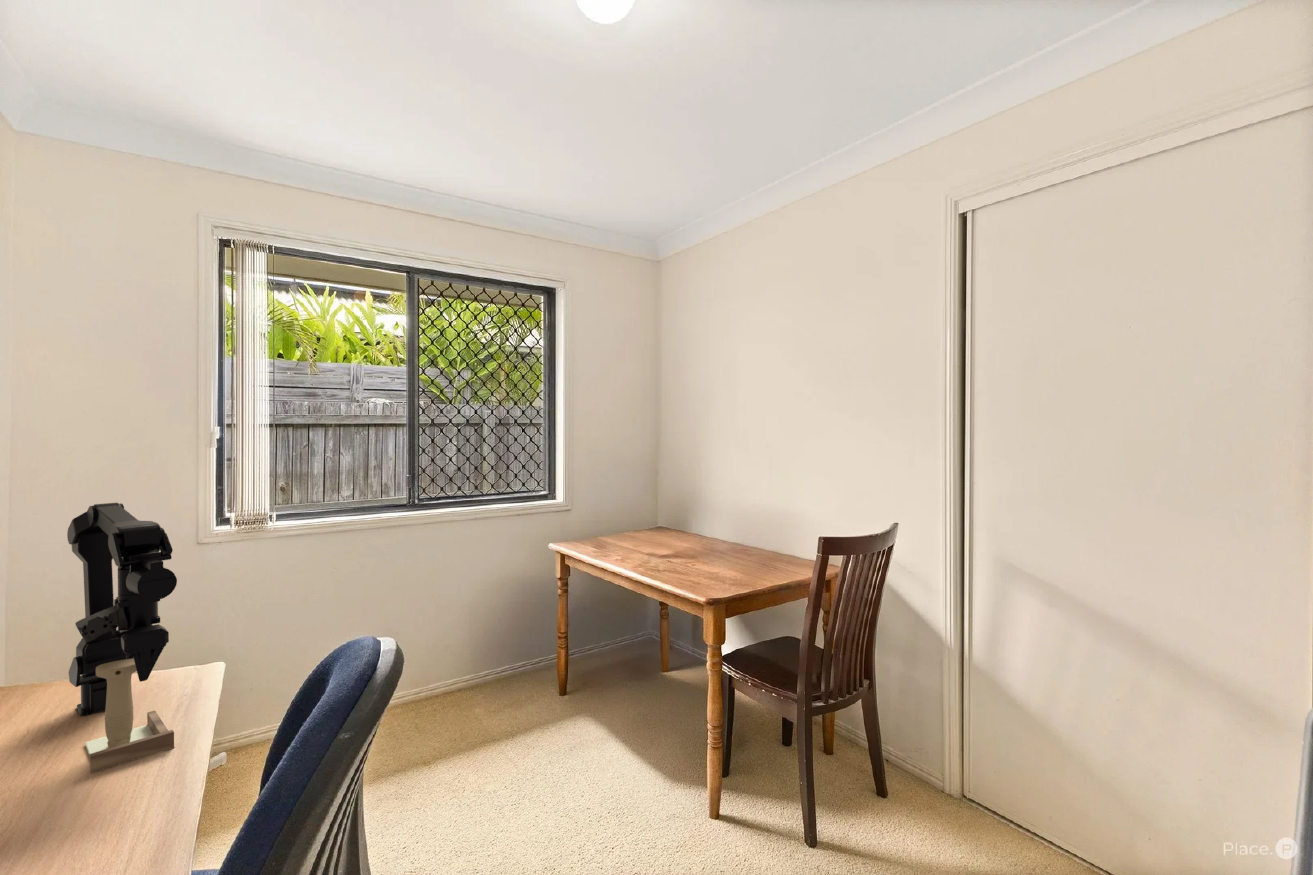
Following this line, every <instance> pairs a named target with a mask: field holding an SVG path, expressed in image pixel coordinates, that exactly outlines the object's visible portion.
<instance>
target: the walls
mask: <svg viewBox="0 0 1313 875" xmlns="http://www.w3.org/2000/svg"><path fill="white" fill-rule="evenodd" d="M146 715H147V716H146V718H147V719H146V720H147V721H146V722H147V724H146V725H148V726H149V728H150V730H151V731H152V733H153V736H149V737H146V738H142V739H139V740H136V741H132V742H129V743H125V744H122V745H119V746H115V747H112V748H109V749H105V750H102V751H98V752H95V753H92V754H90V756H89V772H90V774H91V775H92V774H95V773H98V772H101V771H104V770H108V769H111V768H114V767H117V766H120V765H123V764H127V763H130V762H134V761H137V760H140V759H143V758H146V757H150V756H152V755H157V754H159V753H162V752H165V751H168V750H169V751H170V750H171V749H174V748H175V731H174V730H173V729H168V728H167V726H166V724H165V723H164V722H163V720H162V718H161V717H160V716H159V714H158V713H157V711H156V710H152V711H148V712H147V713H146Z"/></svg>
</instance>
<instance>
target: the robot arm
mask: <svg viewBox="0 0 1313 875" xmlns="http://www.w3.org/2000/svg"><path fill="white" fill-rule="evenodd" d="M66 532H67V533H66V534H67V535H66V536H67V537H66V538H67V542H68V544H69V545H71V552H72V553H73V554H74V555H75V556H76V557H77V558H78V559H79V560H80V561H81V562H82V568H83V590H84V591H83V592H84V594H83V595H84V612H85V613H84V618H81V619H79V620H77V621H76V622H75V624H74V625H75V627H76V629H77V630H78V632H79V634H80V635H81V637H82V638H81V639H80V641H79V643H78V644H77V645H76V647H75V656H74V657H73V658H72V661H71V664H70V667H69V669H68V679H69V680H68V681H69V683H70V684H71V685H72V686H74V687H75V688H78V687H80V703H78V704H77V705H76V708H77V712H78V713H79V716H80V717H83V716H88V715H91V714H95V713H99V712H103V711H105V708H106V696H107V679H105V678H100V677H98V676H96V667H97V666H99V665H101V664H105V663H109V662H113V661H118V660H124V659H134V662H135V666H136V670H137V671H136V674H137V676H138V681H139V682H145V681H148V679H149V677H150V676H151V673H152V671H153V670H154V667H155V665H156V663H157V661H158V659H159V658H160V655H161V654H162V653H163V650H164V649H165V647H166V646H167V644H168V643H169V642H170V640H169V636H170V634H169V631H168V629H167V628H165V627H164V626H162V625H160V623H161V617H160V616H159V602H161V600H162V599H165V598H167V597H169V596H170V595H171V594H172V593H173V591H175V589H176V586H177V584H178V583H177V582H178V579H177V578H178V577H177V576H176V575H175V574H176V573H174V572H173V571H172V570H171V569H169V568H167V567H164V561H169V560H172V553H173V547H172V544H171V542H170V538H169V536H168V534H167V533H166V532H165V529H164V527H161V525H160V524H159V523H158V522H156V521H153V520H139V519H137V518H136V517H135V516H134V515H132V514H131V513H130V512H129V511H128V510H126V509H125V507H124V504H123V503H119V502H108V503H107V502H106V503H96V504H93V505H89V506H88V509H87V511H85V512H82V513H81V514H80V515H78V516H75V517H74V518H72V520H71V521H70V524H69V525H68V528H67V531H66ZM113 561H114V564H115V566H116V567H117V596H116V597H115V599H114V582H113V581H114V577H113Z"/></svg>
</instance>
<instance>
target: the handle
mask: <svg viewBox="0 0 1313 875" xmlns="http://www.w3.org/2000/svg"><path fill="white" fill-rule="evenodd" d="M135 673H137V670H136V666H135V662H134V659H124V660H118V661H113V662H109V663H105V664H101V665H99V666H97V667H96V676H98V677H100V678H105V679H107V696H106V708H105V710H104V711H105V712H104V730H105V731H104V732H105V736H107V739H108V742H107V744H108V747H109V748H112V747H115V746H119V745H122V744H125V743H129V742H130V738H131V732H132V729H133V727H134V726H133V725H134V702H133V692H132V689H133V688H132V675H133V674H135Z"/></svg>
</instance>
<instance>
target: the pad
mask: <svg viewBox="0 0 1313 875" xmlns="http://www.w3.org/2000/svg"><path fill="white" fill-rule="evenodd" d="M149 736H153V733H152V731H151V730H150V728H149V726H148V725H147V724H145V725H141V726H138V727H134V728H133V727H132V732H131V738H130V742H132V741H136V740H139V739H142V738H146V737H149ZM107 742H108V739H107V736H106V735H105V736H103V737H102V736H101V737H99V738H96V739H90V740H89V741H88V740H87V741H85V744H84V745H85V748H86V751H87V753H88V756H89V757H90V754H92V753H95V752H98V751H102V750H105V749H109V747H108V744H107Z"/></svg>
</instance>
